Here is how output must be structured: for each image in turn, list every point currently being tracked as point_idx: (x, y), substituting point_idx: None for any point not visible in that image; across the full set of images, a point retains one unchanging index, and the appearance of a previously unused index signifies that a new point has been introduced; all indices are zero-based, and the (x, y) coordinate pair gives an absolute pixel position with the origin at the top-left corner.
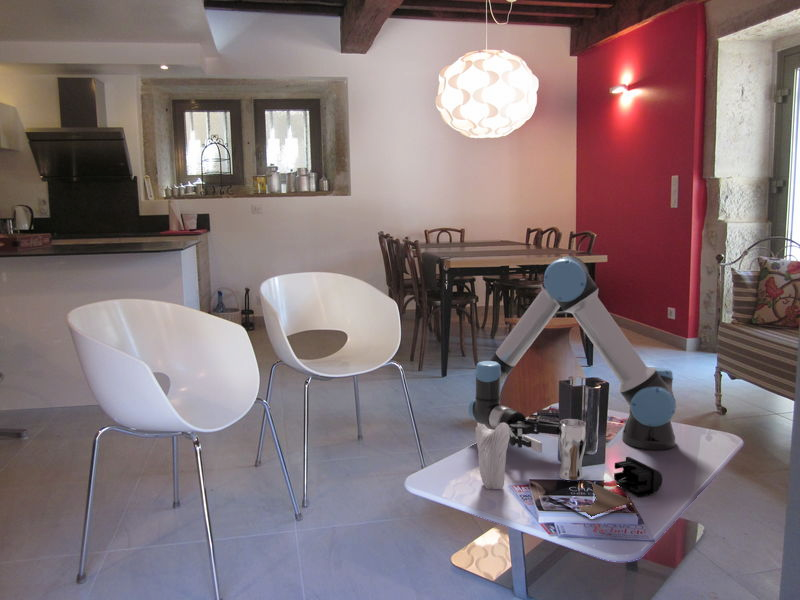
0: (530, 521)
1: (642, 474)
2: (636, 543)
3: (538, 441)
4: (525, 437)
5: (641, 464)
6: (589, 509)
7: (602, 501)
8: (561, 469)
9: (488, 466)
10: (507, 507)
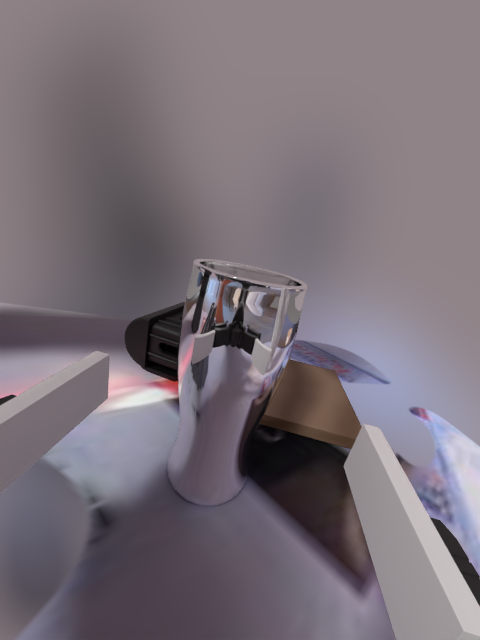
0: (447, 433)
1: None
2: (318, 345)
3: (379, 442)
4: (465, 594)
5: (176, 308)
6: (326, 375)
7: (286, 369)
8: (243, 463)
9: None
10: None
